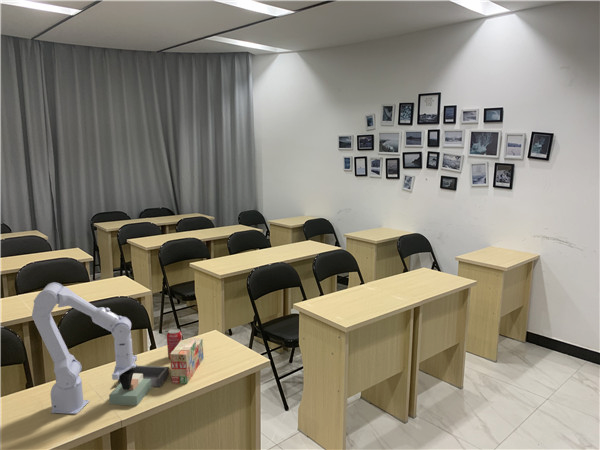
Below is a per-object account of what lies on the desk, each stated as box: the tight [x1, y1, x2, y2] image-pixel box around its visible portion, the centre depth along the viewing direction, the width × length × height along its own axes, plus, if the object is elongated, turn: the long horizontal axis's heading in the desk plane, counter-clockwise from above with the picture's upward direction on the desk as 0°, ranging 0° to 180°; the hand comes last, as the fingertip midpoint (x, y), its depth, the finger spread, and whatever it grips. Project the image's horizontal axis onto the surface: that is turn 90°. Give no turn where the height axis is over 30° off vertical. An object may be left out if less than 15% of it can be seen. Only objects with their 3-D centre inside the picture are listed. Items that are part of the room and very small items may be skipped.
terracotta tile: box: [129, 379, 138, 390], centre depth 165 cm, size 4×4×2 cm
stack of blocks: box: [169, 337, 205, 385], centre depth 183 cm, size 21×6×12 cm, turn 175°
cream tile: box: [132, 373, 143, 384], centre depth 169 cm, size 4×4×2 cm
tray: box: [117, 365, 170, 388], centre depth 176 cm, size 16×10×3 cm, turn 85°
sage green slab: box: [108, 379, 153, 406], centre depth 165 cm, size 10×12×4 cm
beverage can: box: [166, 328, 183, 359], centre depth 194 cm, size 6×6×12 cm
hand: (126, 388), depth 162 cm, fingers closed
